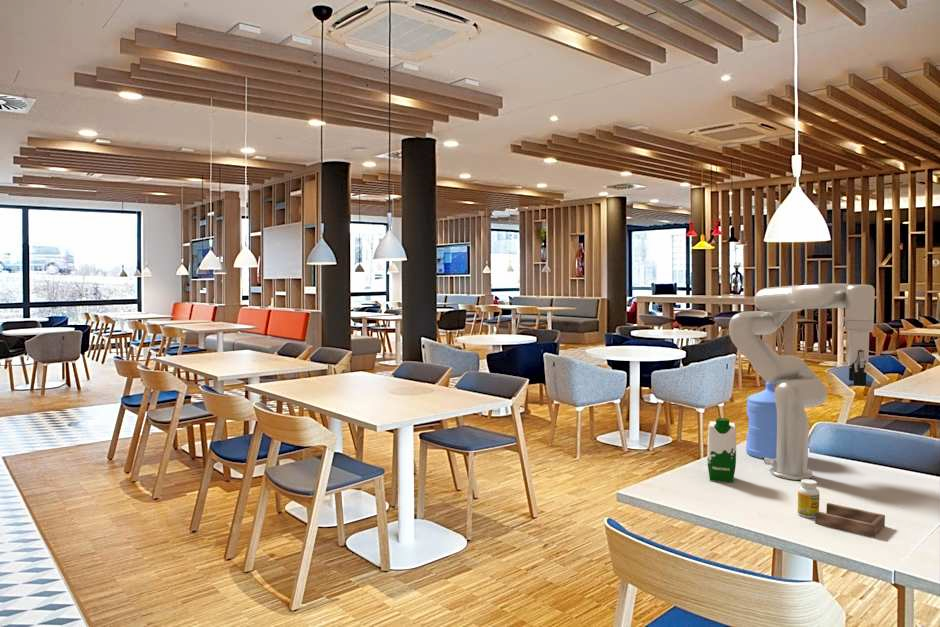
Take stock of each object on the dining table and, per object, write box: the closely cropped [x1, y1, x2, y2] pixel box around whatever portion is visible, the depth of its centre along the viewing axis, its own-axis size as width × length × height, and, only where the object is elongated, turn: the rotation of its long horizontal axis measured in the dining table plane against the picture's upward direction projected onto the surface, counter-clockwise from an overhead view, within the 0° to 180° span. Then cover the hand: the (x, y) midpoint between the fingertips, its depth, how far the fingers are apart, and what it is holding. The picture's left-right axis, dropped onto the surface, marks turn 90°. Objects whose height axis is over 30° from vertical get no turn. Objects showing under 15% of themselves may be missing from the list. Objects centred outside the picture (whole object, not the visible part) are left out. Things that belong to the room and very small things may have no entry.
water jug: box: [745, 381, 777, 459], centre depth 255 cm, size 16×16×28 cm
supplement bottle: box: [797, 479, 820, 519], centre depth 193 cm, size 5×5×10 cm
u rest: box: [814, 502, 886, 538], centre depth 186 cm, size 14×10×3 cm
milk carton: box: [706, 417, 737, 484], centre depth 226 cm, size 9×9×20 cm
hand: (857, 383), depth 208 cm, fingers open, 9 cm apart
